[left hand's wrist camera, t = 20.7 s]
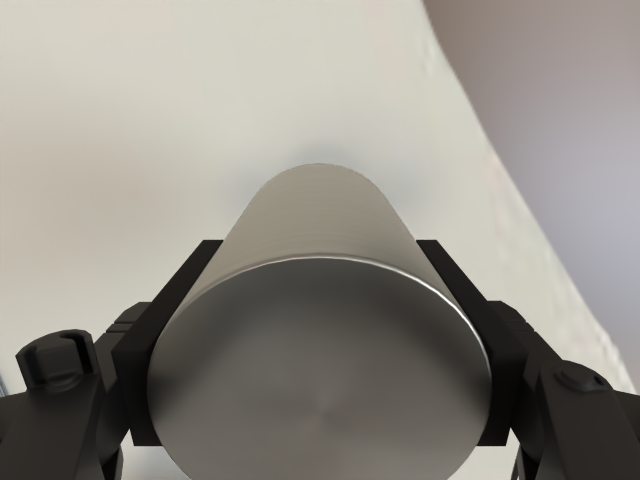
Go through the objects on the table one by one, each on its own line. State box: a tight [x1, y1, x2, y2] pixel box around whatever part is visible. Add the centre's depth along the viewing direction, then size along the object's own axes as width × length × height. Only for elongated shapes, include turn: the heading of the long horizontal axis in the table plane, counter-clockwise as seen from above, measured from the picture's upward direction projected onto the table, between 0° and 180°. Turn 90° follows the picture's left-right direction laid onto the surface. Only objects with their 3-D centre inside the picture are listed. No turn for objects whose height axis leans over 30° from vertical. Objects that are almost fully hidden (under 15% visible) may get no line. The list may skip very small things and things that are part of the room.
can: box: [147, 163, 492, 480], centre depth 12 cm, size 7×7×10 cm
